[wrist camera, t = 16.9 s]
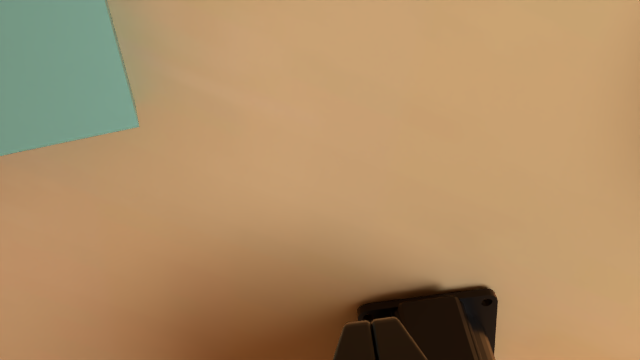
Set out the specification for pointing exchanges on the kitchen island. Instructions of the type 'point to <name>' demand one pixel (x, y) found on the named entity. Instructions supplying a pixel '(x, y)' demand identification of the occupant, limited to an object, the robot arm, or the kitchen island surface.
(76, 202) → the kitchen island surface
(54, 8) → the domino
